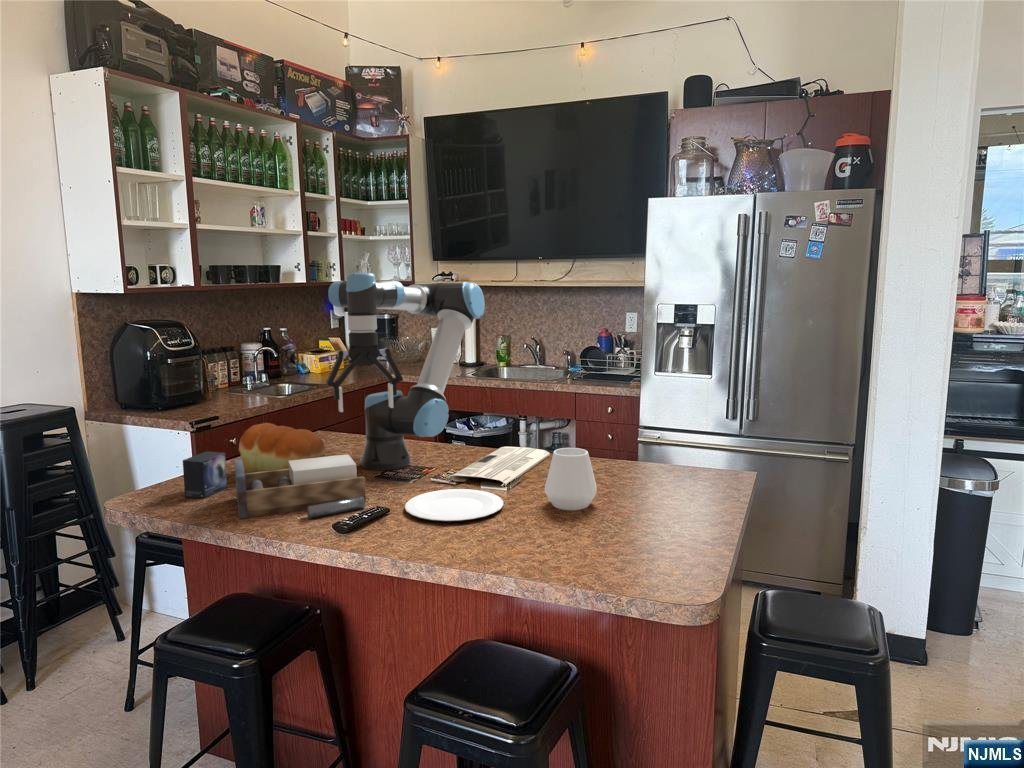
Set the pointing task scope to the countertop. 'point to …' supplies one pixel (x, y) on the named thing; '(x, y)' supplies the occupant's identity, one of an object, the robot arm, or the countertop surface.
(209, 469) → the small box
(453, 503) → the plate
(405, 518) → the countertop surface
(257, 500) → the roller bed
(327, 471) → the slab
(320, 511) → the roller
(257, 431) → the bread
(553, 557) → the countertop surface
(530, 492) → the countertop surface
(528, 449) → the newspaper
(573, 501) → the cup
